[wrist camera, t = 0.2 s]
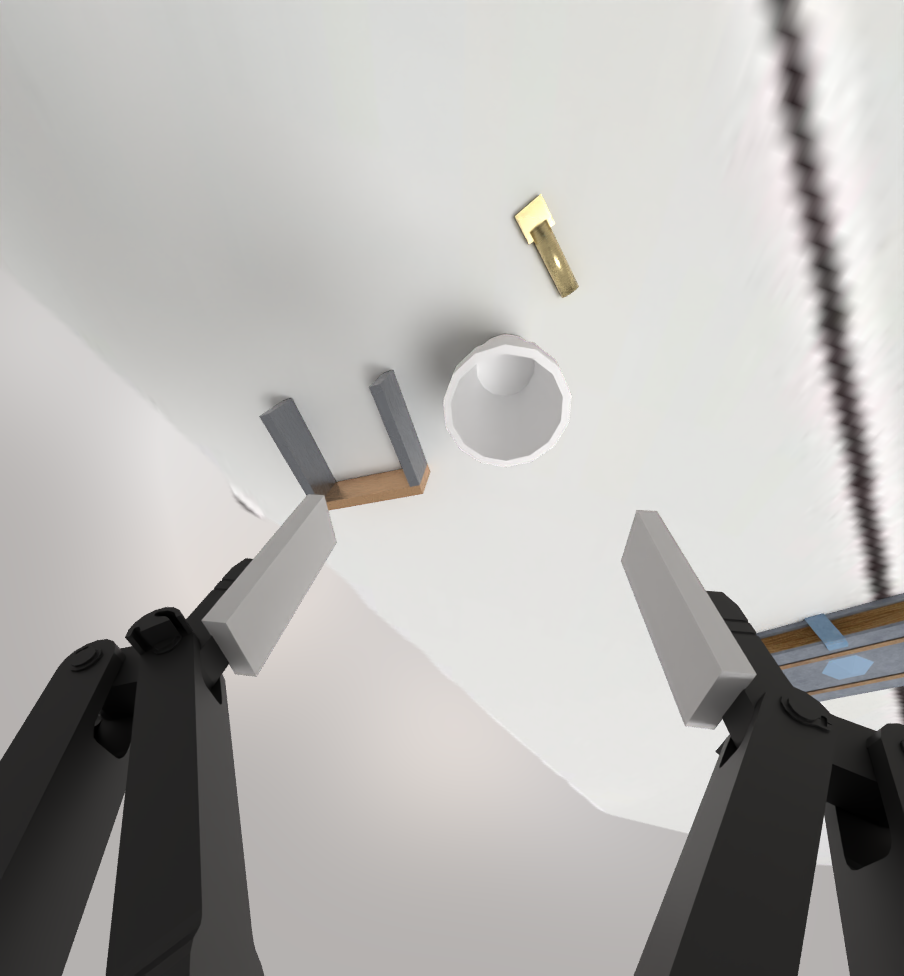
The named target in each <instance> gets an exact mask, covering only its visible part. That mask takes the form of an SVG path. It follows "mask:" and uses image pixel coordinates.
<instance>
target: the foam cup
mask: <svg viewBox="0 0 904 976" xmlns="http://www.w3.org/2000/svg"><path fill="white" fill-rule="evenodd" d="M571 396H572V394H571V392H570V390H569V387H568V385H567V383H566V380H565V378H564V376H563V373H562V371H561V369H560V367H559V365H558V363H557V361H556V359H554V358H553V357H552V356H551V355H549V354H548V353H547V352H545V351H544V350H543V349H542V348H540V347H539V346H538V345H536V344H535V343H534V342H528V341H526V340H524V339H523V338H521V337H520V336H515V335H509V334H502V335H499V336H496V337H493V338H490V339H489V340H488V341H487V342H486V343H484V344H483V345H480V346H477V347H476V348H475V349H474V350H473V351H472V352H471V353H469V354H468V355H467V356H466V357H465V358H464V359H463V360H462V361H461V362H460V363H459V364H458V365H457V366H456V368H455V370H454V373H453V375H452V378H451V381H450V383H449V386H448V389H447V391H446V394H445V397H444V399H443V407H444V416H445V425H446V429H447V430H448V432H449V433H450V435H451V436H452V438H453V440H454V441H455V443H456V444H457V446H458V448H459V449H460V450H462V451H463V452H465V453H466V454H468V455H469V456H471V457H473V458H474V459H476V460H477V461H479V462H480V463H485V464H490V465H496V466H502V467H510V466H515V465H519V464H524V463H528V462H533V461H534V460H535V459H537V458H538V457H540V456H541V455H543V454H544V453H546V452H547V451H548V450H550V449H551V448H553V447H554V446H555V445H556V443H557V442H558V440H559V438H560V437H561V435H562V433H563V432H564V430H565V429H566V427H567V425H568V424H569V418H570V407H571Z"/></svg>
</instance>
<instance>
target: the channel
mask: <svg viewBox="0 0 904 976" xmlns="http://www.w3.org/2000/svg"><path fill="white" fill-rule="evenodd" d="M369 388H370V390H371V393H372V395H373V398H374V400H375V403H376V405H377V408H378V410H379V412H380V415H381V417H382V420H383V422H384V425H385V427H386V430H387V432H388V435H389V437H390V439H391V442H392V444H393V447H394V449H395V452H396V454H397V457H398V459H399V461H400V464H401V466H402V469H399V470H394V471H389V472H384V473H379V474H374V475H369V476H364V477H359V478H354V479H349V480H344V481H338V482H336V481H335V479H334V477H333V475H332V473H331V471H330V469H329V467H328V466H327V464H326V462H325V460H324V458H323V456H322V454H321V452H320V450H319V449H318V447H317V445H316V443H315V441H314V439H313V437H312V435H311V433H310V432H309V430H308V428H307V426H306V424H305V422H304V420H303V418H302V416H301V415H300V413H299V411H298V409H297V407H296V405H295V403H294V401H293V400H292V398H290V399H287V400H283V401H282V402H280V403H279V404H277V405H276V406H274V407H273V408H271V409H270V410H268V411H267V412H265V413H264V414H262V415H261V416H260V418H261V420H262V421H263V423H264V425H265V426H266V428H267V430H268V432H269V433H270V435H271V437H272V438H273V440H274V442H275V443H276V445H277V447H278V448H279V450H280V452H281V453H282V455H283V457H284V458H285V460H286V462H287V463H288V465H289V467H290V469H291V470H292V472H293V474H294V475H295V477H296V479H297V480H298V482H299V484H300V485H301V487H302V489H303V490H304V492H305V494H306V495H308V494H312V495H324V496H325V500H326V504H327V507H328V510H334V509H339V508H345V507H351V506H356V505H362V504H368V503H373V502H379V501H385V500H390V499H396V498H402V497H407V496H413V495H419V494H423V492H424V489H425V486H426V483H427V480H428V477H429V474H430V470H429V467H428V464H427V462H426V459H425V456H424V453H423V451H422V448H421V445H420V442H419V440H418V437H417V434H416V431H415V429H414V426H413V423H412V420H411V418H410V415H409V412H408V409H407V407H406V404H405V401H404V398H403V396H402V393H401V390H400V387H399V385H398V382H397V379H396V376H395V374H394V371H393V370H392V371H388V372H385V373H383V374H382V375H381V376H380V377H379V378H378V379H377V380H376V381H375V382H374V383H372V384H371V385H370V386H369Z"/></svg>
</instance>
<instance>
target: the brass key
mask: <svg viewBox="0 0 904 976" xmlns="http://www.w3.org/2000/svg"><path fill="white" fill-rule="evenodd" d="M515 219H516V221H517V223H518V225H519V227H520V229H521V231H522V233H523V235H524V237H525V239H526V240H527V242H528V244H530V243H532V242H533V241H534V243H535V245H536V247H537V249H538V251H539V253H540V255H541V257H542V259H543V261H544V263H545V265H546V267H547V269H548V271H549V273H550V275H551V277H552V279H553V281H554V283H555V285H556V287H557V289H558V291H559V293H560V295H561V297H562V298H564V297H566V296H567V295H569V294H571V293H572V292H573V291H575V290H576V289H577V288H578V287H579V286H578V284H577V282H576V279H575V277H574V275H573V273H572V271H571V269H570V267H569V265H568V263H567V261H566V259H565V257H564V254H563V252H562V250H561V248H560V246H559V244H558V242H557V240H556V238H555V236H554V234H553V232H552V229H551V226H553V225H554V224H555V222H554V220H553V218H552V216H551V214H550V212H549V210H548V208H547V205H546V203H545V201H544V199H543V197H542V195H541V194H540V195H539V196H538V197H537V198H535V199H534V200H533V201H532V202H531V203H530V204H528V205H527V206H526V207H525V208H524V209H523V210H521V211H520V212H519V213H518V214H517V215H516V216H515Z"/></svg>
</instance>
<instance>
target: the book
mask: <svg viewBox="0 0 904 976" xmlns="http://www.w3.org/2000/svg"><path fill="white" fill-rule="evenodd" d="M756 635H757V636H759V637H760V639H761V640H762V642H763V643H764V645H765V646H766V648H767V649H768V651H769V652H770V654H771V655H772V657H773V658H774V659H775V661H776V662H777V664H778V665H779V667H780V668H781V670H782V671H783V673H784V674H785V676H786V677H787V679H788V680H789V682H790V683H791V684H792V685H793V687H796V688H798V689H800V690H802V691H805V692H806V693H808V694H809V695H810V696H812V697H813V698H815V699H816V700H818V701H819V702H820V701H825V700H830V699H836V698H841V697H846V696H852V695H857V694H862V693H868V692H873V691H878V690H884V689H889V688H894V687H900V686H904V593H903V594H899V595H895V596H892V597H888V598H884V599H881V600H877V601H873V602H870V603H866V604H862V605H859V606H855V607H852V608H848V609H844V610H841V611H837V612H833V613H830V614H826V615H824V614H819V615H816V616H812V617H808V618H805V620H804V621H801V622H797V623H793V624H790V625H786V626H782V627H779V628H775V629H771V630H768V631H764V632H760V633H757V634H756Z"/></svg>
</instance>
